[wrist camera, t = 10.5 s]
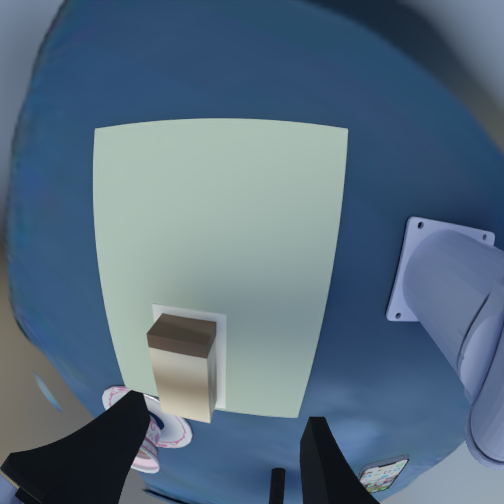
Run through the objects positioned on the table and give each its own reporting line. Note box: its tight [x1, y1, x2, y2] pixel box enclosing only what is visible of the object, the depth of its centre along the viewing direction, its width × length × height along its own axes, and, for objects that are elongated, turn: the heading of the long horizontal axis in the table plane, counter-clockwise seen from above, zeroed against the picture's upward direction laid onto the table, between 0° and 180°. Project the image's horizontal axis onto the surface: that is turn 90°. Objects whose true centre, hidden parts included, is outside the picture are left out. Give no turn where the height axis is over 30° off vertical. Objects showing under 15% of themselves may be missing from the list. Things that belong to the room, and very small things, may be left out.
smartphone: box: [358, 455, 409, 493], centre depth 27 cm, size 7×1×15 cm
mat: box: [93, 119, 348, 418], centre depth 20 cm, size 18×25×1 cm
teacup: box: [102, 386, 193, 473], centre depth 23 cm, size 12×12×6 cm
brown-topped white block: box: [146, 313, 217, 423], centre depth 20 cm, size 9×4×3 cm, turn 176°
